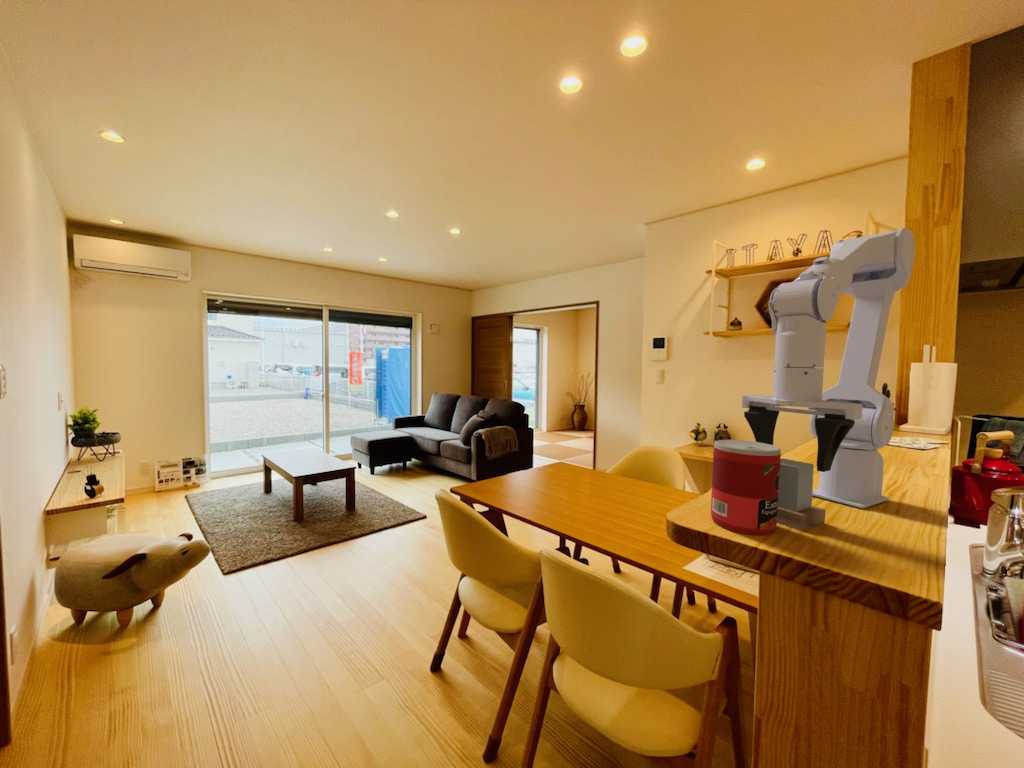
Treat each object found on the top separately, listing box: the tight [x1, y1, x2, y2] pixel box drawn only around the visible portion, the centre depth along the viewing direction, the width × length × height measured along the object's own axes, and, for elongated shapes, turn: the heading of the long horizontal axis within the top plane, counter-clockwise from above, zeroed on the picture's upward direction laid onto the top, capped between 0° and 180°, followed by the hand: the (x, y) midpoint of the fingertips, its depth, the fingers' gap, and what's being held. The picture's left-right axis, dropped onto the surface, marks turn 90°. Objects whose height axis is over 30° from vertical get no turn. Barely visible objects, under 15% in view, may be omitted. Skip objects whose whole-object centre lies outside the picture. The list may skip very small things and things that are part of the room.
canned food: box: [710, 439, 782, 536], centre depth 58 cm, size 8×8×11 cm
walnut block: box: [777, 505, 826, 532], centre depth 60 cm, size 6×6×2 cm
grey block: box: [778, 458, 815, 512], centre depth 60 cm, size 4×4×6 cm
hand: (793, 464), depth 60 cm, fingers open, 7 cm apart
